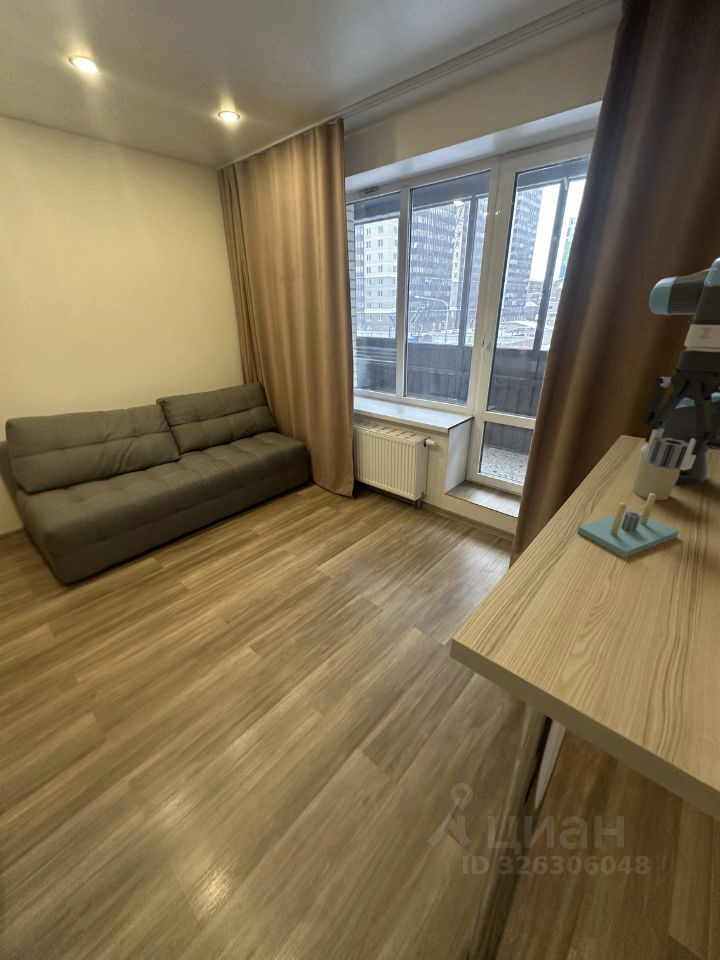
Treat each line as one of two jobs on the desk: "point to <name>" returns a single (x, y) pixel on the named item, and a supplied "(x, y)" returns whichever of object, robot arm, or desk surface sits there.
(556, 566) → the desk surface
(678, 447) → the gear
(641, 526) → the carrier
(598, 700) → the desk surface
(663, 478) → the coffee cup
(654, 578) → the desk surface
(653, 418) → the robot arm
